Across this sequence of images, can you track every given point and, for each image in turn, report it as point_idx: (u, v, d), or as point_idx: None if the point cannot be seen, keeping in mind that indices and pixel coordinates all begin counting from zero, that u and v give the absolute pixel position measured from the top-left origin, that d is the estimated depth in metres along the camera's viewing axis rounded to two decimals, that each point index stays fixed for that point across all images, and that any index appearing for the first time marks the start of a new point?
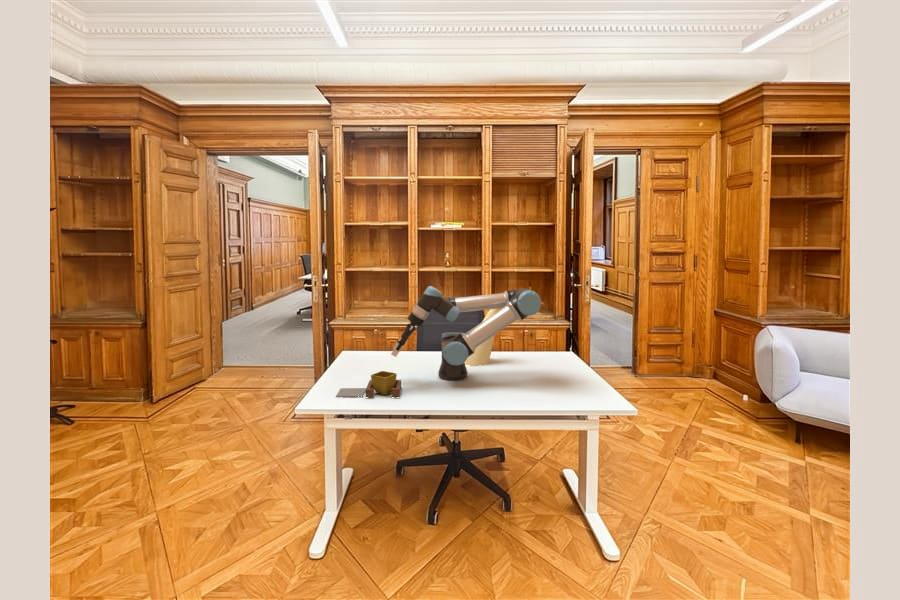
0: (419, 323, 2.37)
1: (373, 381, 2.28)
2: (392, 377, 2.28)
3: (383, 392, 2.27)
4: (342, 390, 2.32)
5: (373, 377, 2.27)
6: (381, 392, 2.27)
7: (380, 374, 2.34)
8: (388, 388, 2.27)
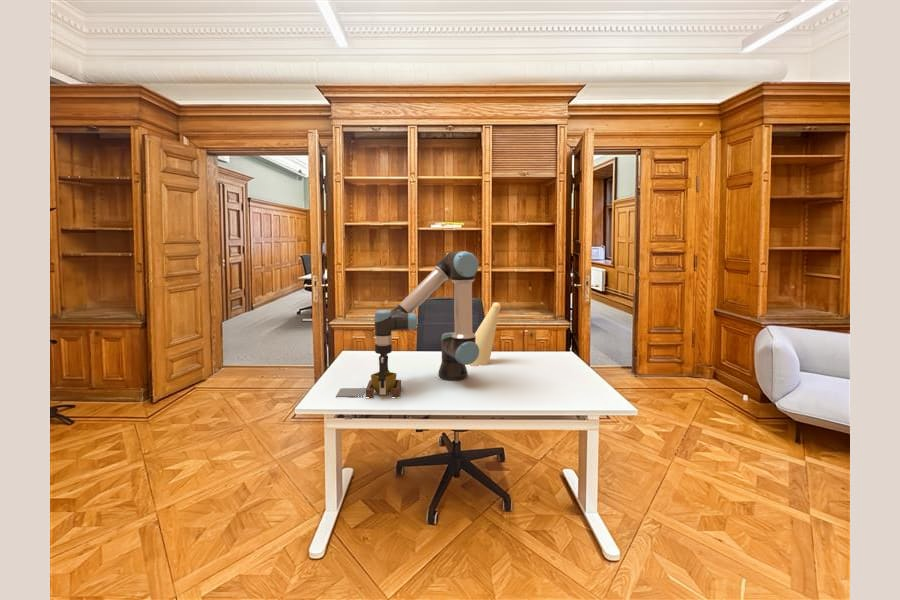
0: (387, 350, 2.25)
1: (373, 381, 2.28)
2: (392, 377, 2.28)
3: None
4: (342, 390, 2.32)
5: (373, 377, 2.27)
6: None
7: None
8: (388, 388, 2.27)
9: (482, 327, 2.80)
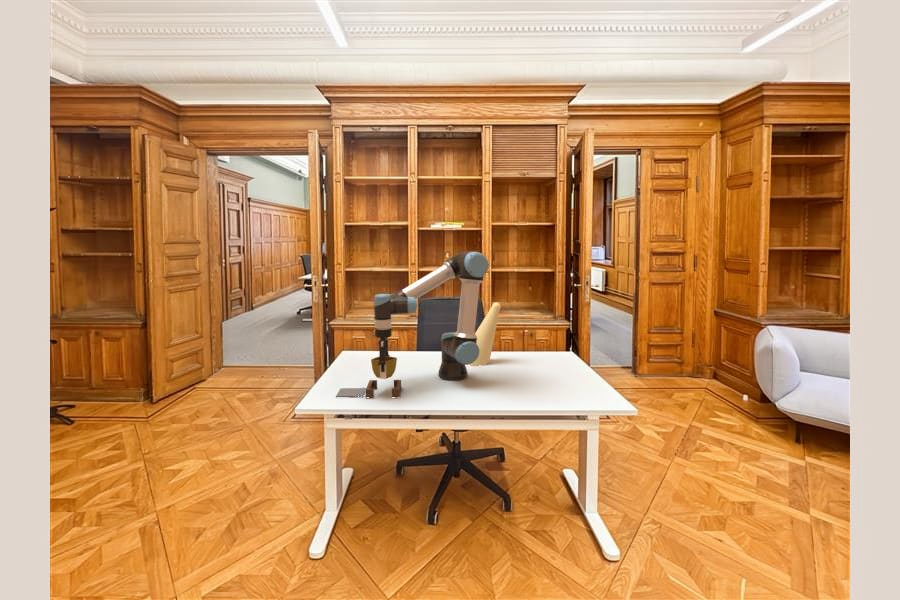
0: (387, 334, 2.24)
1: (373, 365, 2.27)
2: (392, 361, 2.27)
3: None
4: (342, 390, 2.32)
5: (373, 361, 2.27)
6: None
7: None
8: (388, 372, 2.27)
9: (482, 327, 2.80)
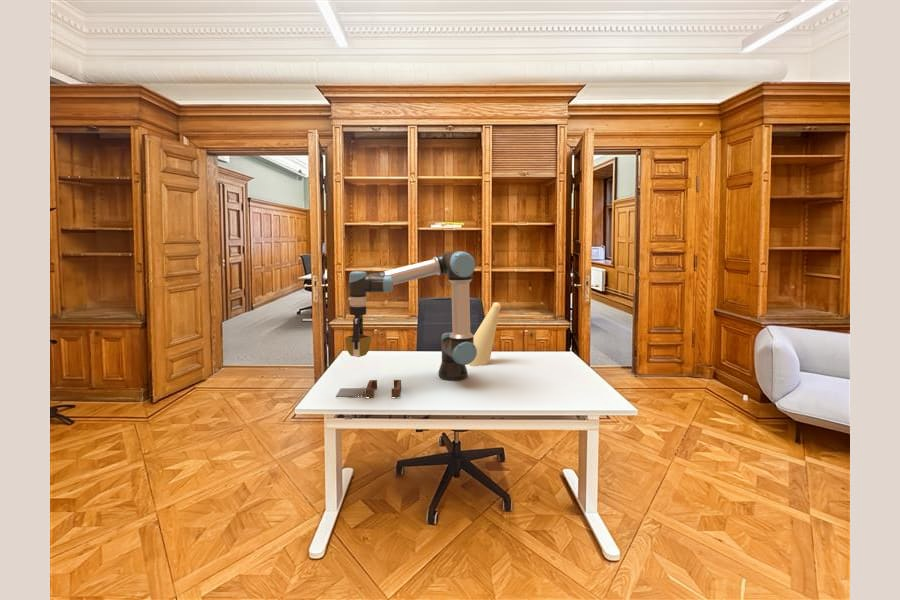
0: (362, 312, 2.23)
1: (347, 343, 2.25)
2: (366, 339, 2.26)
3: None
4: (342, 390, 2.32)
5: (347, 339, 2.25)
6: None
7: None
8: (362, 350, 2.25)
9: (482, 327, 2.80)
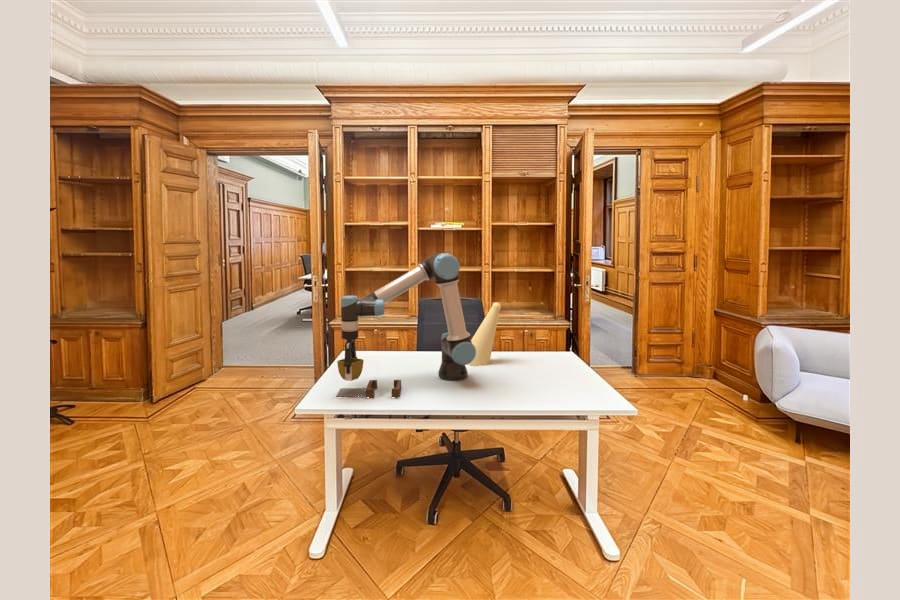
0: (354, 336, 2.24)
1: (339, 367, 2.26)
2: (358, 363, 2.27)
3: None
4: (342, 390, 2.32)
5: (339, 363, 2.26)
6: None
7: None
8: (354, 374, 2.26)
9: (482, 327, 2.80)
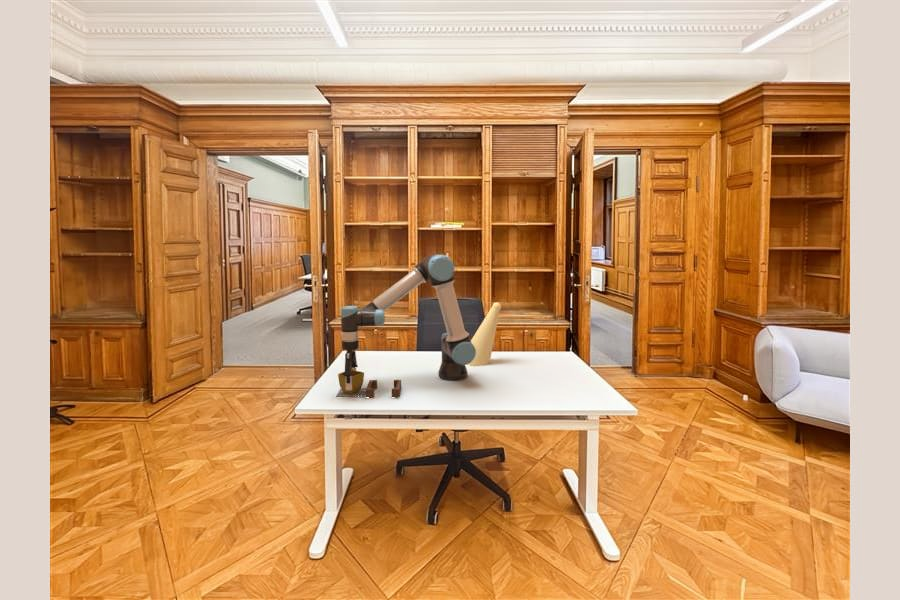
0: (354, 346, 2.25)
1: (340, 380, 2.27)
2: (359, 376, 2.28)
3: (350, 391, 2.26)
4: (342, 390, 2.32)
5: (340, 376, 2.27)
6: (348, 391, 2.27)
7: None
8: (355, 387, 2.27)
9: (482, 327, 2.80)
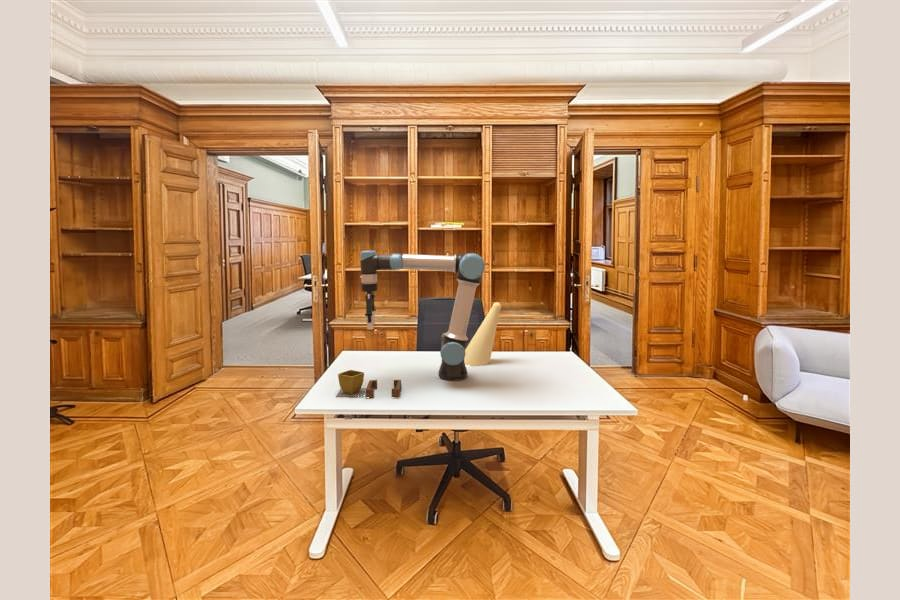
0: (373, 288, 2.36)
1: (340, 380, 2.27)
2: (359, 376, 2.28)
3: (350, 391, 2.26)
4: (342, 390, 2.32)
5: (340, 376, 2.27)
6: (348, 391, 2.27)
7: (348, 373, 2.33)
8: (355, 387, 2.27)
9: (483, 327, 2.80)
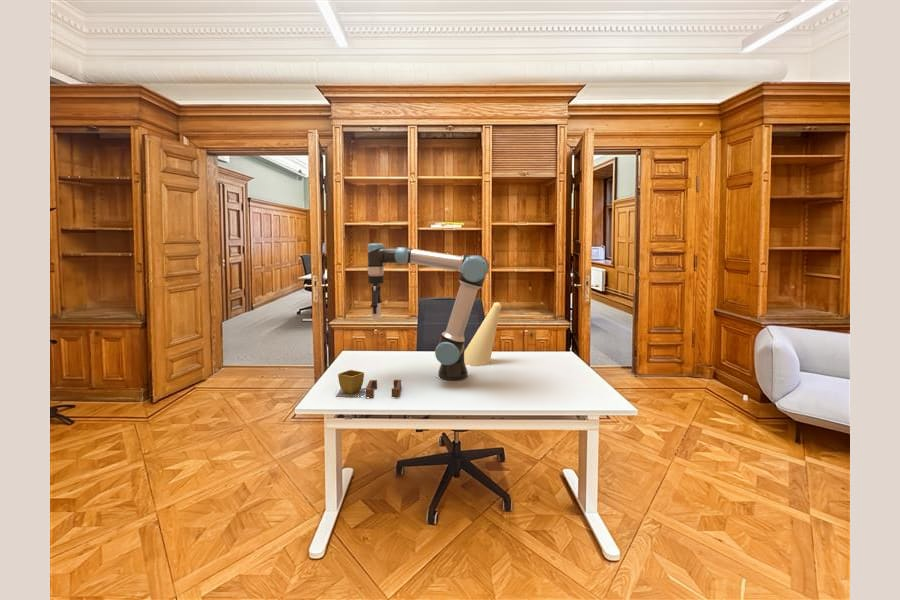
0: (380, 280, 2.41)
1: (340, 380, 2.27)
2: (359, 376, 2.28)
3: (350, 391, 2.26)
4: (342, 390, 2.32)
5: (340, 376, 2.27)
6: (348, 391, 2.27)
7: (348, 373, 2.33)
8: (355, 387, 2.27)
9: (483, 327, 2.80)
